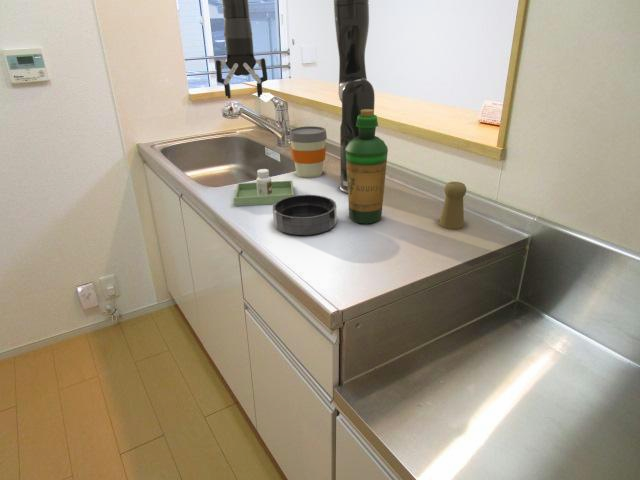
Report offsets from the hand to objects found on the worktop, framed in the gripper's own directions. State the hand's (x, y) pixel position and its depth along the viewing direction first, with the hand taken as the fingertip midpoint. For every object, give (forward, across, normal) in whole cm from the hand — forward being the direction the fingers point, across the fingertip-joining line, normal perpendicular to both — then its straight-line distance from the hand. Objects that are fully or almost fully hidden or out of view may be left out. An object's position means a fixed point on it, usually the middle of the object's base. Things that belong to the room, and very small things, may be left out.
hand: (244, 97), depth 131 cm
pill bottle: (+28, -4, +8) cm, 29 cm away
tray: (+28, -4, +8) cm, 29 cm away
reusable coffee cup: (+28, -19, -13) cm, 36 cm away
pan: (+28, -15, +30) cm, 44 cm away
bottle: (+28, -31, +29) cm, 51 cm away
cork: (+28, -52, +36) cm, 69 cm away
